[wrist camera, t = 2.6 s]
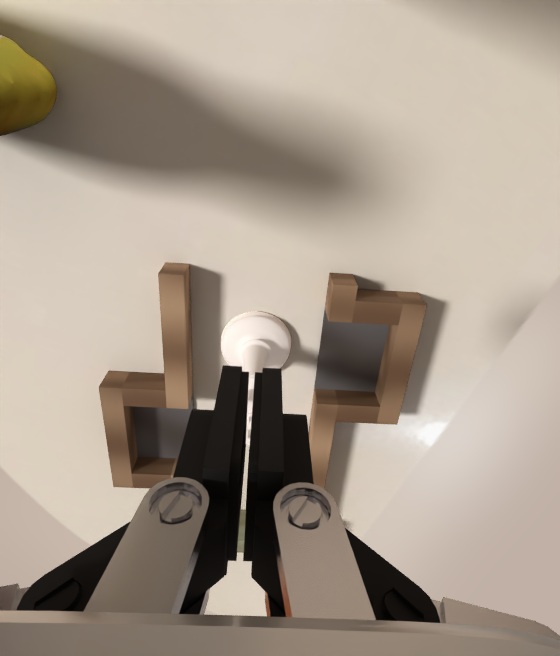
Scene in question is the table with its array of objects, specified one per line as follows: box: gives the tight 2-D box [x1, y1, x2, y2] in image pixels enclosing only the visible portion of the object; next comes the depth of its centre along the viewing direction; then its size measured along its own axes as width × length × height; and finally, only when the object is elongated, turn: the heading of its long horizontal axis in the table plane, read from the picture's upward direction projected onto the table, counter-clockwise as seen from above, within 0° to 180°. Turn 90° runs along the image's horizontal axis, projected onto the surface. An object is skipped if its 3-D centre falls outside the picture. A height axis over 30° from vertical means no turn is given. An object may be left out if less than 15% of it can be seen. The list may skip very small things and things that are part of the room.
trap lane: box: [99, 263, 427, 553], centre depth 32 cm, size 24×21×3 cm
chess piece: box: [221, 311, 291, 446], centre depth 26 cm, size 5×5×10 cm
